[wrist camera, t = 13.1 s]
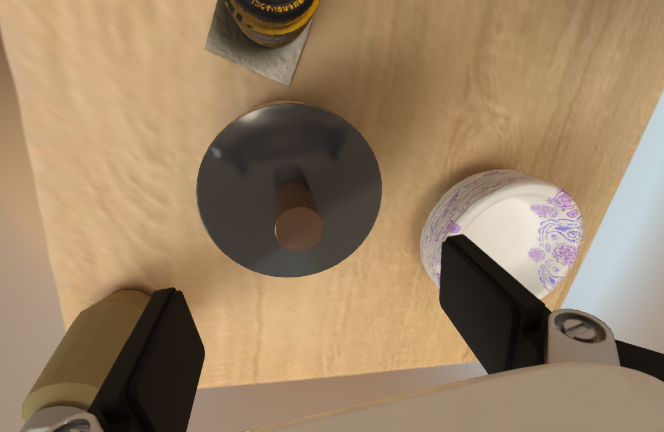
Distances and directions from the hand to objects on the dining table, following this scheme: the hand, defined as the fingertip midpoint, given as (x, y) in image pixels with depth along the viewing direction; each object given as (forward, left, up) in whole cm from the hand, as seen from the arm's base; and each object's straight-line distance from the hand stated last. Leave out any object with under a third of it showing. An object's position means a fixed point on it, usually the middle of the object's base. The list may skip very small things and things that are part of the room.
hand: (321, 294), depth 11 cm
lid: (0, +1, -12) cm, 12 cm away
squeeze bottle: (+15, +19, -22) cm, 33 cm away
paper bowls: (-22, +6, -22) cm, 31 cm away
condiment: (+3, -11, -22) cm, 25 cm away
